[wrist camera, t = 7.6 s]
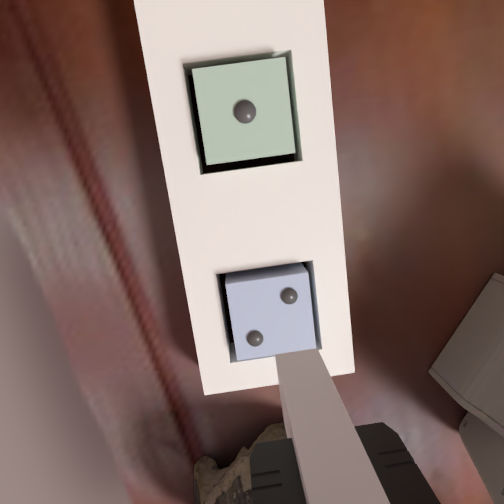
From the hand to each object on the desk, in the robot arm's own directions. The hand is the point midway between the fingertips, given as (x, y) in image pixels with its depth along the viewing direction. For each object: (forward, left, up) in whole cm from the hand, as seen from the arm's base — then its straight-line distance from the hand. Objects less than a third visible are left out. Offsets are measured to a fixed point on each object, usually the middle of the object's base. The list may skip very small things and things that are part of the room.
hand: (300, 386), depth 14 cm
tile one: (-10, 0, -14) cm, 17 cm away
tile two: (+2, 0, -14) cm, 14 cm away
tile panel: (-10, 0, -14) cm, 18 cm away
